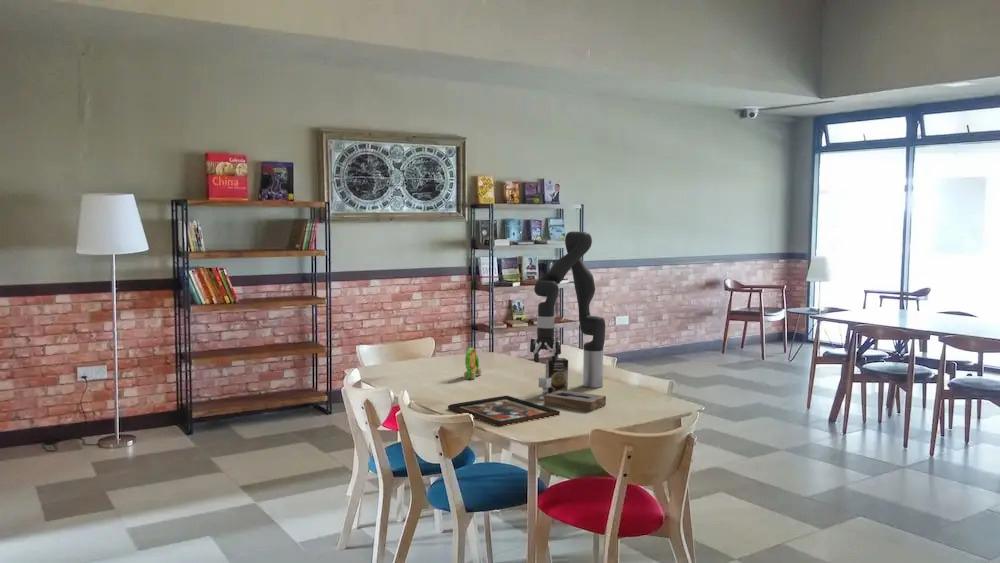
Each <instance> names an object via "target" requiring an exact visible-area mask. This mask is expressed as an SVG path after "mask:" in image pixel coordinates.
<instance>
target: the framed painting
mask: <svg viewBox="0 0 1000 563" xmlns="http://www.w3.org/2000/svg"><path fill="white" fill-rule="evenodd" d="M447 409H448V411H451V412H455V413H456V414H457V413H458V414H460V413H469V414H472V415H473V416H474V417H475V418H474V419H475V420H478V419H480V420H479V421H481V420H482V421H481V422H484V421H485V422H484V423H487V422H488V423H487V424H490V423H492V424H491V425H493V424H495V425H494V426H496V425H498V426H497V427H504V426H503V425H506V426H508V425H507V424H511V425H513V424H512V423H516V424H519V423H518V422H521V423H524V422H523V421H526V422H529V421H528V420H532V421H534V420H533V419H537V420H540V419H539V418H542V419H545V418H544V417H547V418H550V417H549V416H553V417H555V416H554V415H558V416H560V415H561V414H560V413H561V411H560V410H557V409H554V408H549V407H547V406H545V405H544V406H543V405H540V404H536V403H533V402H530V401H526V400H523V399H520V398H517V397H514V396H511V395H501V396H496V397H488V398H483V399H478V400H470V401H464V402H456V403H453V404H449V405H447Z"/></svg>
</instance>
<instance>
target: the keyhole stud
mask: <svg viewBox="0 0 1000 563" xmlns="http://www.w3.org/2000/svg"><path fill="white" fill-rule="evenodd" d="M549 387H551V378H549V377H545V376H541V377H538V388H541V389H542V396H539V400H540V401H543V400H544V395H547V388H549Z"/></svg>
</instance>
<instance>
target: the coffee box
mask: <svg viewBox="0 0 1000 563" xmlns="http://www.w3.org/2000/svg"><path fill="white" fill-rule="evenodd" d="M544 377H549V378H551V387H549V388H547V394H550V393H553V392H556V391H559V390H565V391H569V390H568V384H569V359H567V358H564V357H560V358H559V357H557V362H556V364H554V365H552V357H551V358H547V357H546V358H545V376H544Z"/></svg>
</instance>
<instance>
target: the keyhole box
mask: <svg viewBox="0 0 1000 563" xmlns="http://www.w3.org/2000/svg"><path fill="white" fill-rule="evenodd" d="M606 401H607V396H606V395H599V394H593V393H587V392H586V393H585V392H578V391H571V390H568V391H565V390H559V391H556V392H553V393H550V394H547V395H544V401H543V405H544V406H549V405H551V406H550V407H556V406H558V407H557V408H562V407H563V408H564V409H568V408H570V409H569V410H575V409H576V411H581V410H583V411H582V412H588V411H590V412H589V413H591V412H594V411H596V410H599V409H601V408H604V407H605V405H607V402H606ZM600 407H601V408H600ZM598 408H599V409H598ZM593 410H594V411H593Z"/></svg>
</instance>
